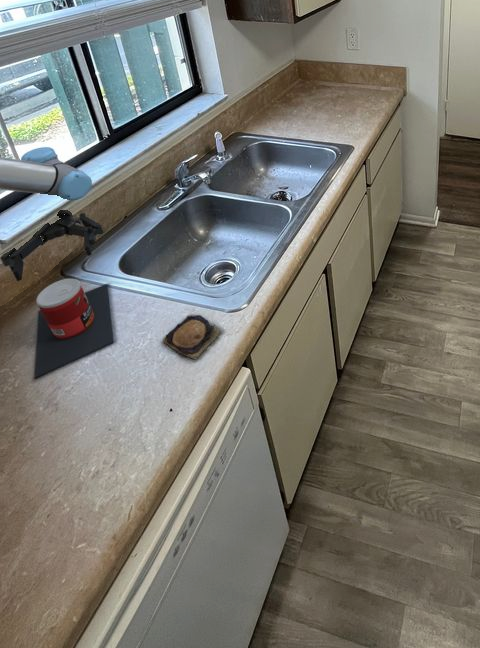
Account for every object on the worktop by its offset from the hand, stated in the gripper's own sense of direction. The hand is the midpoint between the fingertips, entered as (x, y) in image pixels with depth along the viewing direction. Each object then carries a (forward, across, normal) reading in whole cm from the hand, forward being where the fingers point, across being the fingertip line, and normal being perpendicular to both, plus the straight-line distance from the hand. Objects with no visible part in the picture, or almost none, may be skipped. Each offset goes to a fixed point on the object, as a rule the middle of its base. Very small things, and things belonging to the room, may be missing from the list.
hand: (53, 263), depth 103 cm
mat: (+10, -1, -12) cm, 16 cm away
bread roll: (+29, -23, -13) cm, 39 cm away
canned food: (+10, -1, -12) cm, 15 cm away
